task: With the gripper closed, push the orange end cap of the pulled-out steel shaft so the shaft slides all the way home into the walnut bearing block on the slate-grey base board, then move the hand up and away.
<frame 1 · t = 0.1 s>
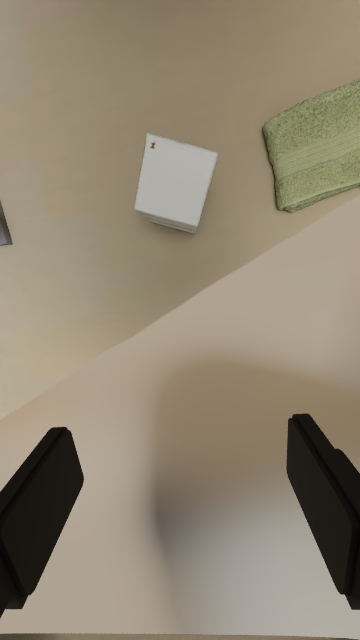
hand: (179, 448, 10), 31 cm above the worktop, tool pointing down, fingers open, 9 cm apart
supplement box: (179, 204, 36), on the worktop
washcloth: (327, 150, 33), on the worktop
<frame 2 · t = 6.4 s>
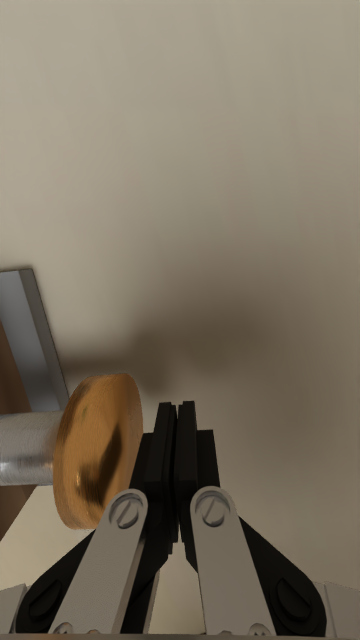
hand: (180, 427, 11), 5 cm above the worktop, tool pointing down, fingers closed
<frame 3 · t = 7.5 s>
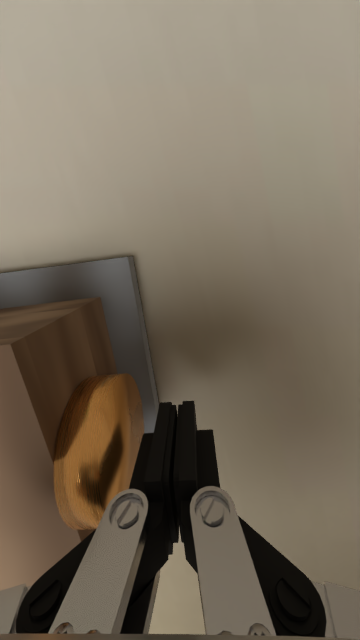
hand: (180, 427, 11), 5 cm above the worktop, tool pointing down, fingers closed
bearing block: (31, 386, 17), on the worktop
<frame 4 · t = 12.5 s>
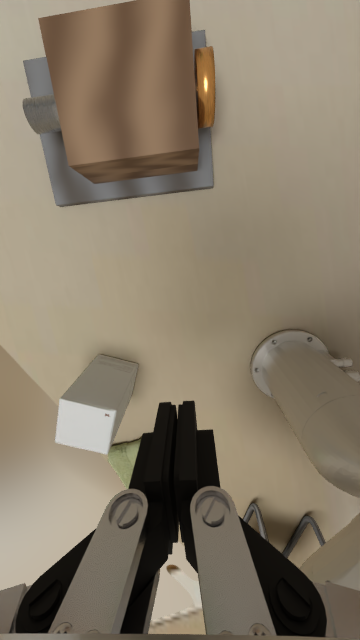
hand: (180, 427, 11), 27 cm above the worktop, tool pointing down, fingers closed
supplement box: (115, 375, 42), on the worktop
washcloth: (153, 467, 48), on the worktop
shaft: (119, 103, 25), point 6 cm above the worktop, slide at 0.0 cm
bearing block: (140, 128, 31), on the worktop
chair: (267, 528, 51), on the worktop
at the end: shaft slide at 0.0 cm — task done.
